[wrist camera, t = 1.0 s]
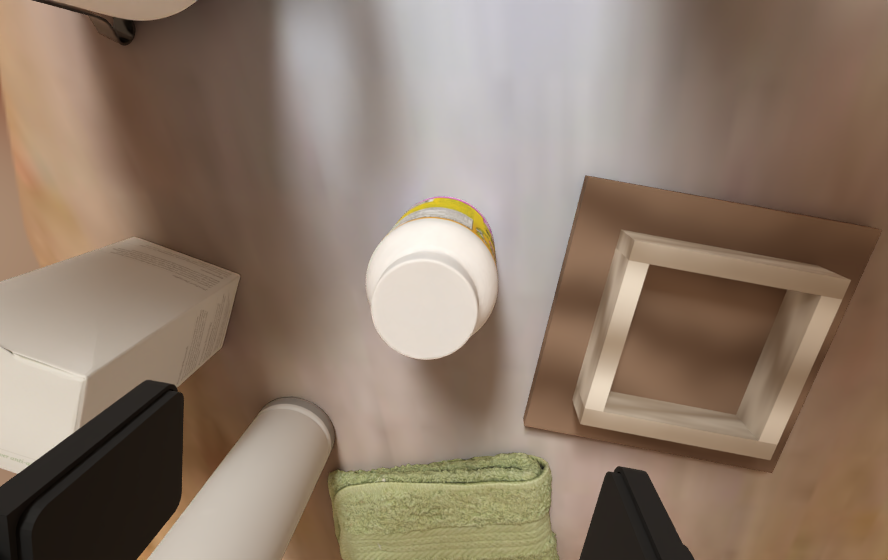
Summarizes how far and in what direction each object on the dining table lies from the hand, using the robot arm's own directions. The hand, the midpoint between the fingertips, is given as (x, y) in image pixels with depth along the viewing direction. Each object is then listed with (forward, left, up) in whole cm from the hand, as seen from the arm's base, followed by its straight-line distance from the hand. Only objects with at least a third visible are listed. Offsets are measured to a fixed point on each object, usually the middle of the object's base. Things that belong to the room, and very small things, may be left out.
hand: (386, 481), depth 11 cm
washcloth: (+23, +4, -25) cm, 34 cm away
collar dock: (+4, +17, -24) cm, 29 cm away
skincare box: (+8, -18, -24) cm, 31 cm away
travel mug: (+18, -9, -24) cm, 31 cm away
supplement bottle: (+1, 0, -24) cm, 24 cm away
